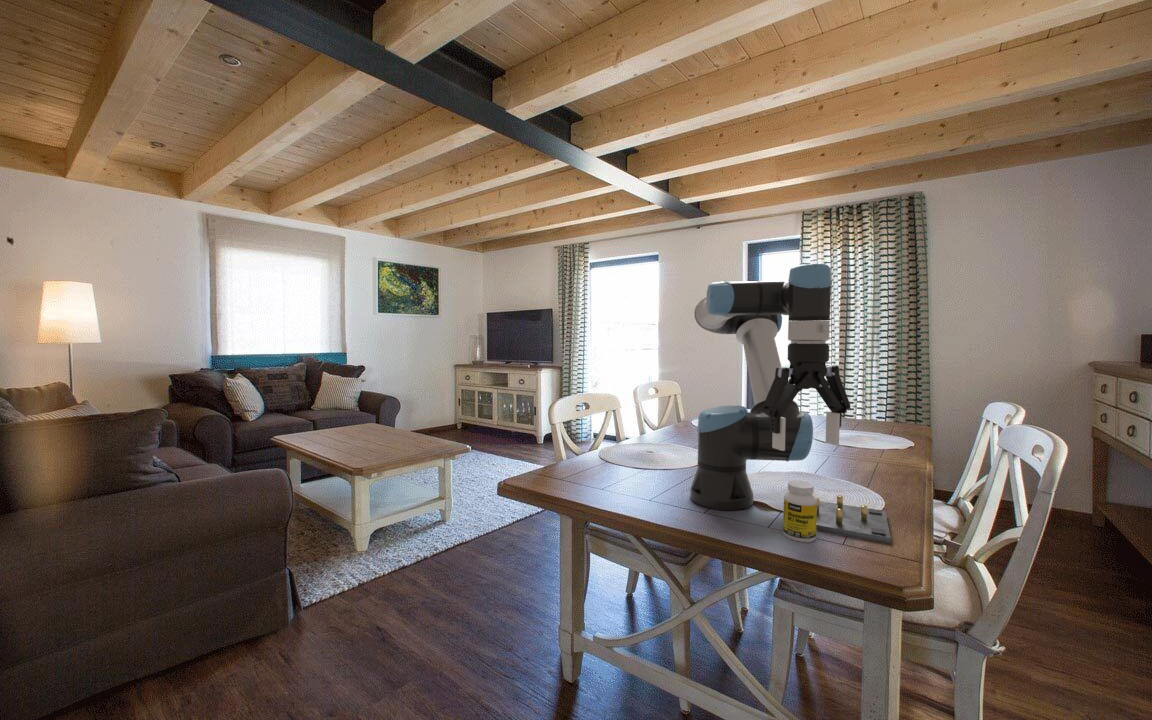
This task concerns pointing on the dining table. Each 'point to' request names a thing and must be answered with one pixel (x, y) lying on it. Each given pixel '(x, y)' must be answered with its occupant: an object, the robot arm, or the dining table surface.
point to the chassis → (852, 521)
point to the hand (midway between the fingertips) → (805, 446)
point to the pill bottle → (800, 512)
